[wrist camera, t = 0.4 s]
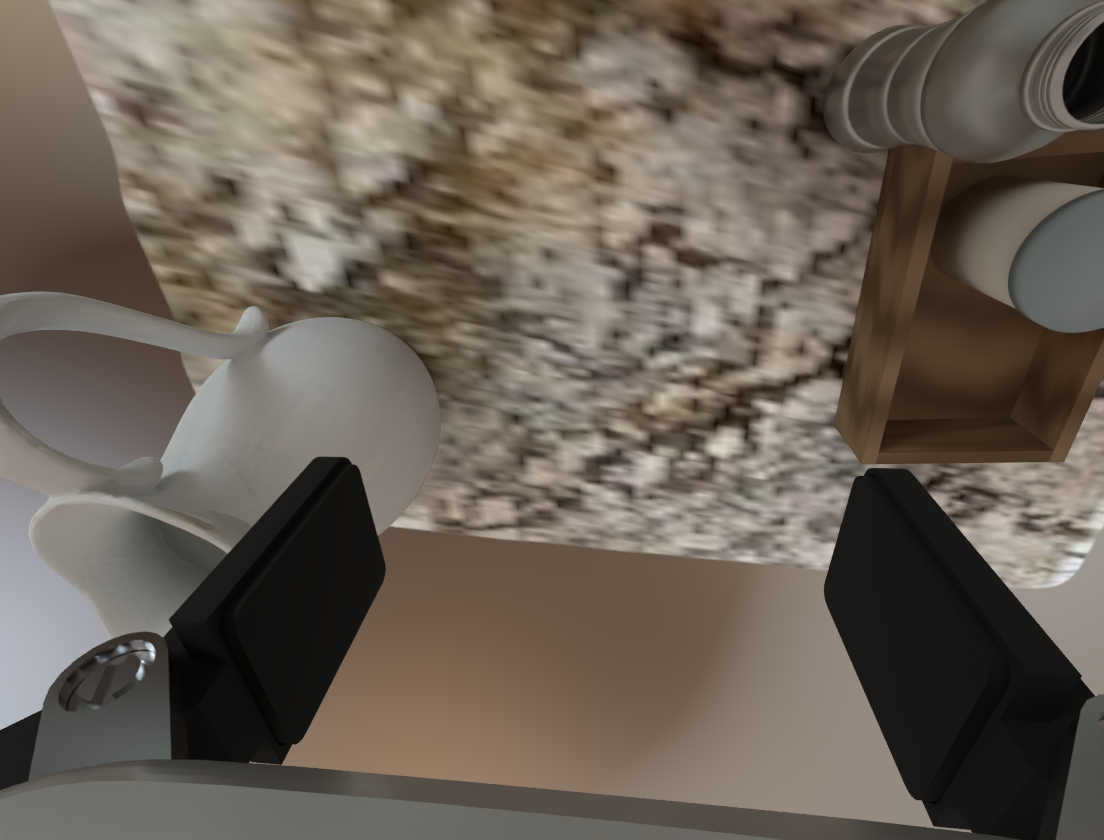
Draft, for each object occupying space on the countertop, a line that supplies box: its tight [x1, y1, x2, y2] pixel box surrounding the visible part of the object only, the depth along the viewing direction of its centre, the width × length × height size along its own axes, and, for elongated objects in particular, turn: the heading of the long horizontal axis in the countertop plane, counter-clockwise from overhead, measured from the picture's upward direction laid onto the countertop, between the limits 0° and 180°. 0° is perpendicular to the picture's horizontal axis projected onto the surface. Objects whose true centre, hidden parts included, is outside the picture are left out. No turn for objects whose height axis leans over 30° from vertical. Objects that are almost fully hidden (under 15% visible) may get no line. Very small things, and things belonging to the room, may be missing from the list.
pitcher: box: [0, 292, 440, 640], centre depth 35 cm, size 24×17×28 cm
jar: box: [930, 176, 1104, 333], centre depth 32 cm, size 7×7×10 cm
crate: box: [834, 128, 1104, 464], centre depth 37 cm, size 22×14×6 cm, turn 5°
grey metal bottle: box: [823, 0, 1104, 163], centre depth 26 cm, size 6×7×20 cm
